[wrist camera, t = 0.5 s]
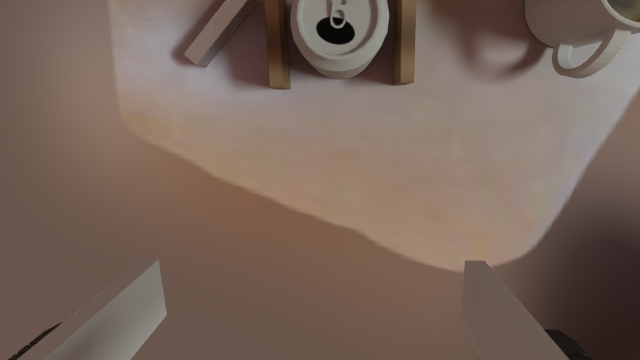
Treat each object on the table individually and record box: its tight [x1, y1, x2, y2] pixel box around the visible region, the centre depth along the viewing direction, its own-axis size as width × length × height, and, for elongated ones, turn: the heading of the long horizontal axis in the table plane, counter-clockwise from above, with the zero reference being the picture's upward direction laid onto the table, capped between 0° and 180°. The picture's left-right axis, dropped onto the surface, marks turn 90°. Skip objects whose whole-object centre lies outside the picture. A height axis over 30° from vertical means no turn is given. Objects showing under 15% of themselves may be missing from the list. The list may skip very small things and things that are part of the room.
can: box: [290, 0, 389, 79], centre depth 30 cm, size 8×8×12 cm
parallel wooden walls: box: [265, 0, 416, 89], centre depth 34 cm, size 9×13×5 cm
